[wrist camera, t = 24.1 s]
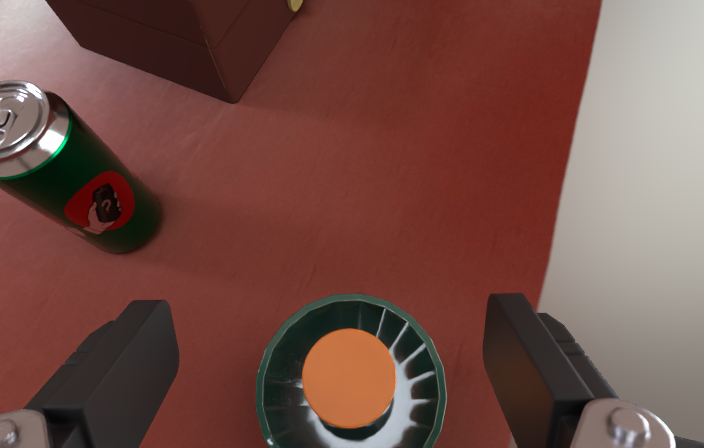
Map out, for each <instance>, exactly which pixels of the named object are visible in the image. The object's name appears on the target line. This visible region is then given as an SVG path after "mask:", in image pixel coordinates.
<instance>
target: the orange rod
mask: <svg viewBox="0 0 704 448" xmlns="http://www.w3.org/2000/svg"><path fill="white" fill-rule="evenodd" d="M302 386H303V391H304V395H305V398H306V400H307V402H308V404H309V406H310V407H311V409H312V410H313V411H314V412H315V414H317V415H318V416H319V417H320V418H321V419H322V420H324V421H325V422H327V423H329V424H331V425H334V426H336V427H341V428H357V427H362V426H365V425H367V424H369V423H371V422H373V421H374V420H376V419H377V418H378V417H380V416H381V415H382V414H383V413H384V411H385V410H386V409H387V408H388V406H389V404H390V402H391V400H392V398H393V396H394V392H395V388H396V368H395V364H394V361H393V358H392V356H391V354H390V352H389V351H388V349H387V348H386V346H385V345H384V344H383V343H382V342H381V341H380V340H379V339H378V338H376V337H375V336H373V335H372V334H370V333H368V332H366V331H363V330H359V329H351V328H348V329H340V330H336V331H333V332H331V333H329V334H327V335H325V336H324V337H322V338H321V339H320V340H319V341H317V342H316V343H315V345H314V346H313V347H312V348H311V350H310V351H309V353H308V355H307V357H306V360H305V362H304V366H303V370H302Z"/></svg>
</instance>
